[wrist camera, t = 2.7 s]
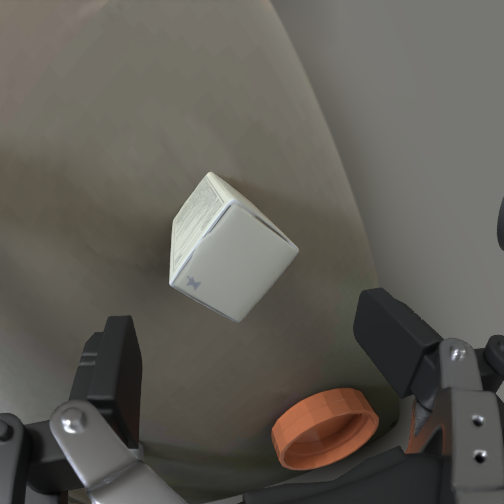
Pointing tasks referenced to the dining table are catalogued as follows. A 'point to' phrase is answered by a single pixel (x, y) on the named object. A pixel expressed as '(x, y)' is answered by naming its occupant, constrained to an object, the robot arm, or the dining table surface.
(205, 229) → the box
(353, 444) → the bowl
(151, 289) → the dining table surface
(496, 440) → the robot arm
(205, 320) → the dining table surface
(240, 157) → the dining table surface
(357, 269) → the dining table surface
